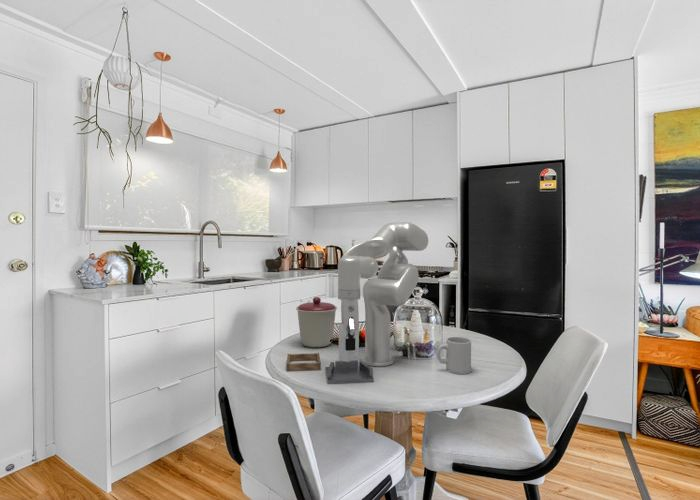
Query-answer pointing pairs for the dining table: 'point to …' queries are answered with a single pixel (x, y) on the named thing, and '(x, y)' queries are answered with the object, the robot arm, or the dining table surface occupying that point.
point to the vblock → (348, 372)
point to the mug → (456, 355)
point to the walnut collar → (303, 365)
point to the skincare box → (343, 353)
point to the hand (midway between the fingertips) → (348, 346)
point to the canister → (316, 323)
